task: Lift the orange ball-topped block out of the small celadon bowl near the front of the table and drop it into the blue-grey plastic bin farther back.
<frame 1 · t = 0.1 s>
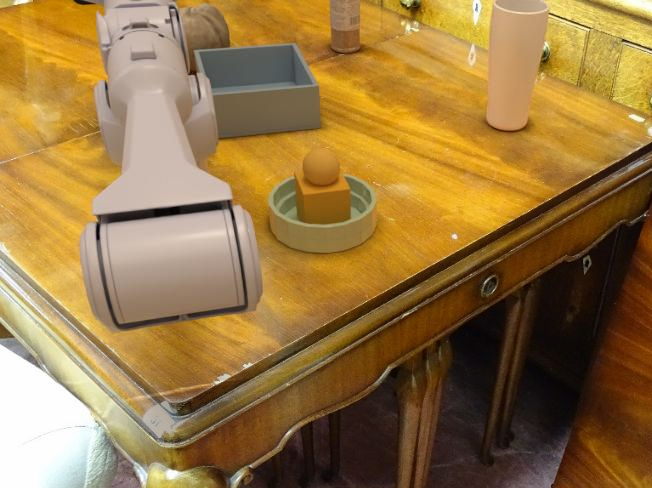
orange ball-topped block: (323, 223, 78), resting on bowl
bin: (258, 109, 99), on the table
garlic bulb: (198, 72, 108), on the table
bowl: (323, 227, 79), on the table
sprinkles bottle: (345, 49, 116), on the table
drinking glass: (506, 124, 99), on the table
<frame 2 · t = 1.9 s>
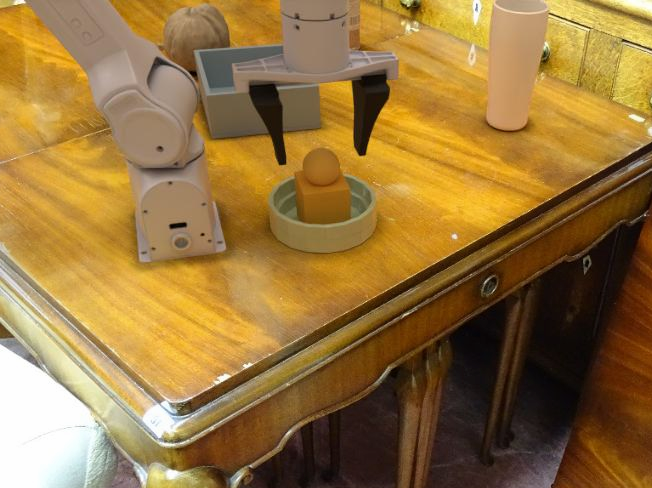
hand: (321, 155, 74), 8 cm above the table, tool pointing down, fingers open, 7 cm apart
nothing on the table moved.
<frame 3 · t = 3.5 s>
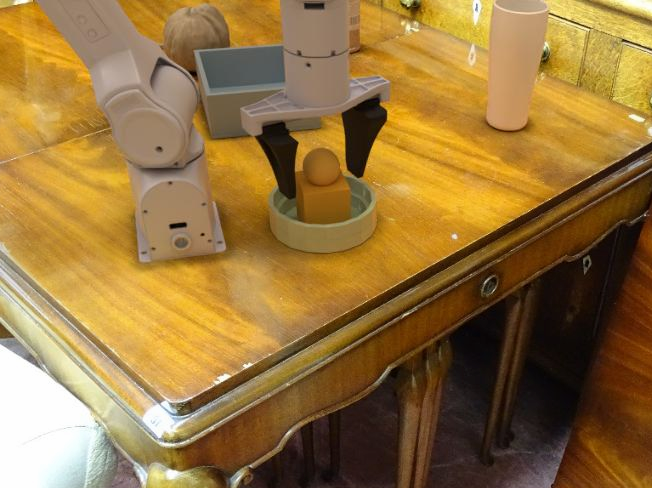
hand: (322, 183, 75), 5 cm above the table, tool pointing down, fingers open, 7 cm apart
nothing on the table moved.
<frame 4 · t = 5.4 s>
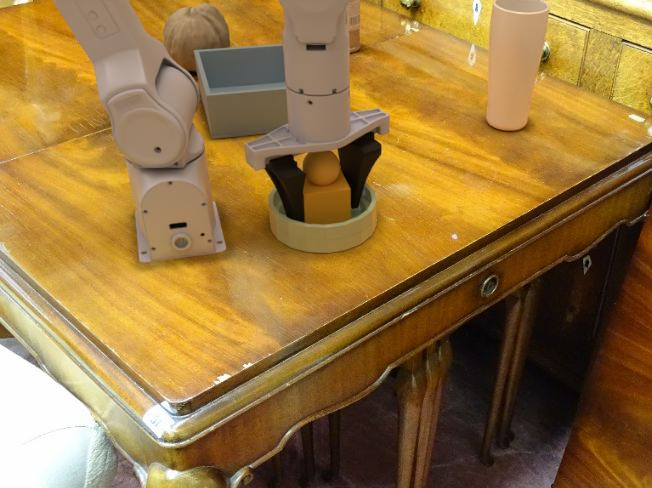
hand: (323, 213, 78), 2 cm above the table, tool pointing down, fingers open, 6 cm apart
nothing on the table moved.
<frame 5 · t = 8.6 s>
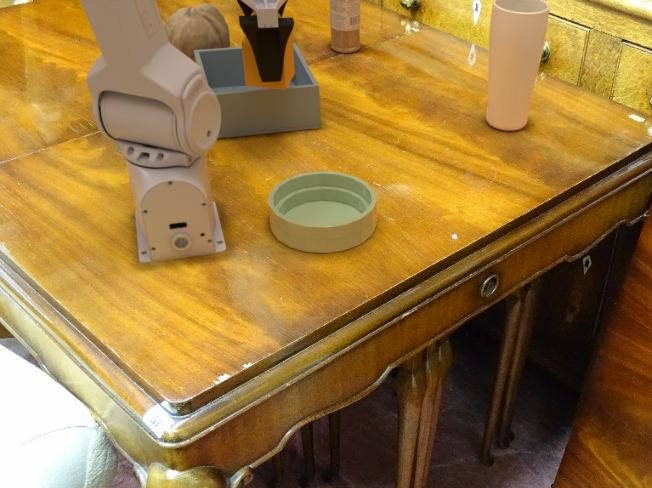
hand: (269, 69, 88), 8 cm above the table, tool pointing down, fingers closed on orange ball-topped block, 5 cm apart
orange ball-topped block: (270, 80, 88), point 7 cm above the table, touching gripper
everything else where it was.
when the fingers open (3 cm above the table, at t = 11.4 s): orange ball-topped block drops 2 cm, resting on bin.
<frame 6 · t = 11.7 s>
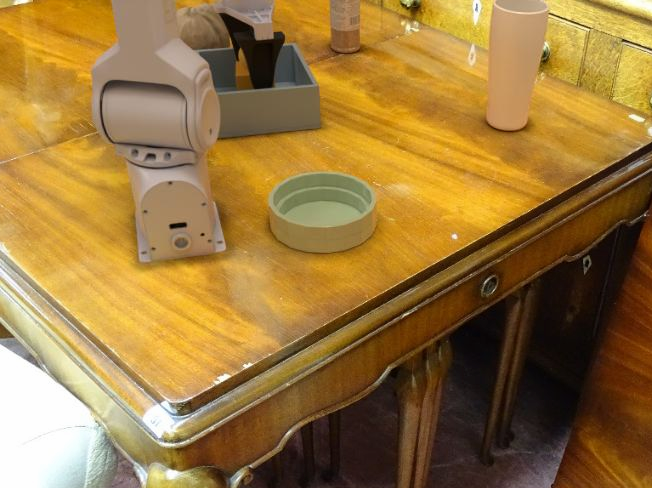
hand: (255, 77, 96), 4 cm above the table, tool pointing down, fingers open, 7 cm apart
orange ball-topped block: (258, 105, 99), resting on bin
everything else where it was.
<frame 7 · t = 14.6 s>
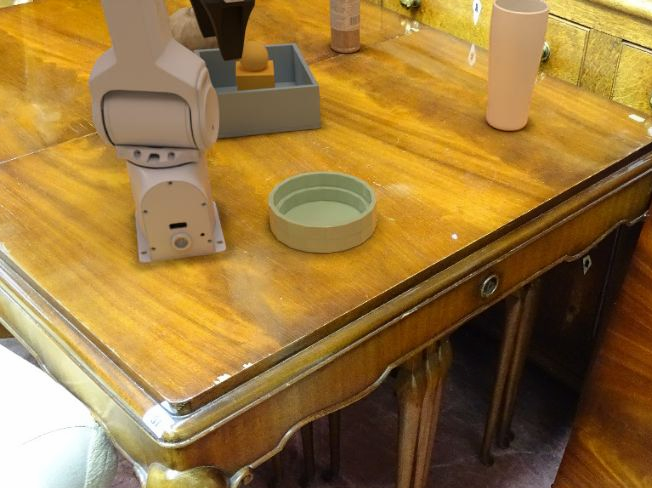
hand: (221, 47, 90), 9 cm above the table, tool pointing down, fingers open, 7 cm apart
nothing on the table moved.
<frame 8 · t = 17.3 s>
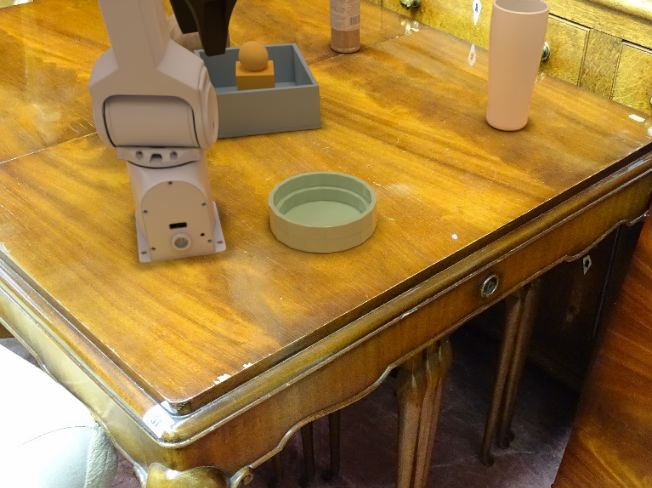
hand: (202, 42, 88), 10 cm above the table, tool pointing down, fingers open, 7 cm apart
nothing on the table moved.
at the end: orange ball-topped block inside the target area in the bin (0.1 cm from its centre), point 0.5 cm above the bin's base; the gripper is holding nothing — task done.
